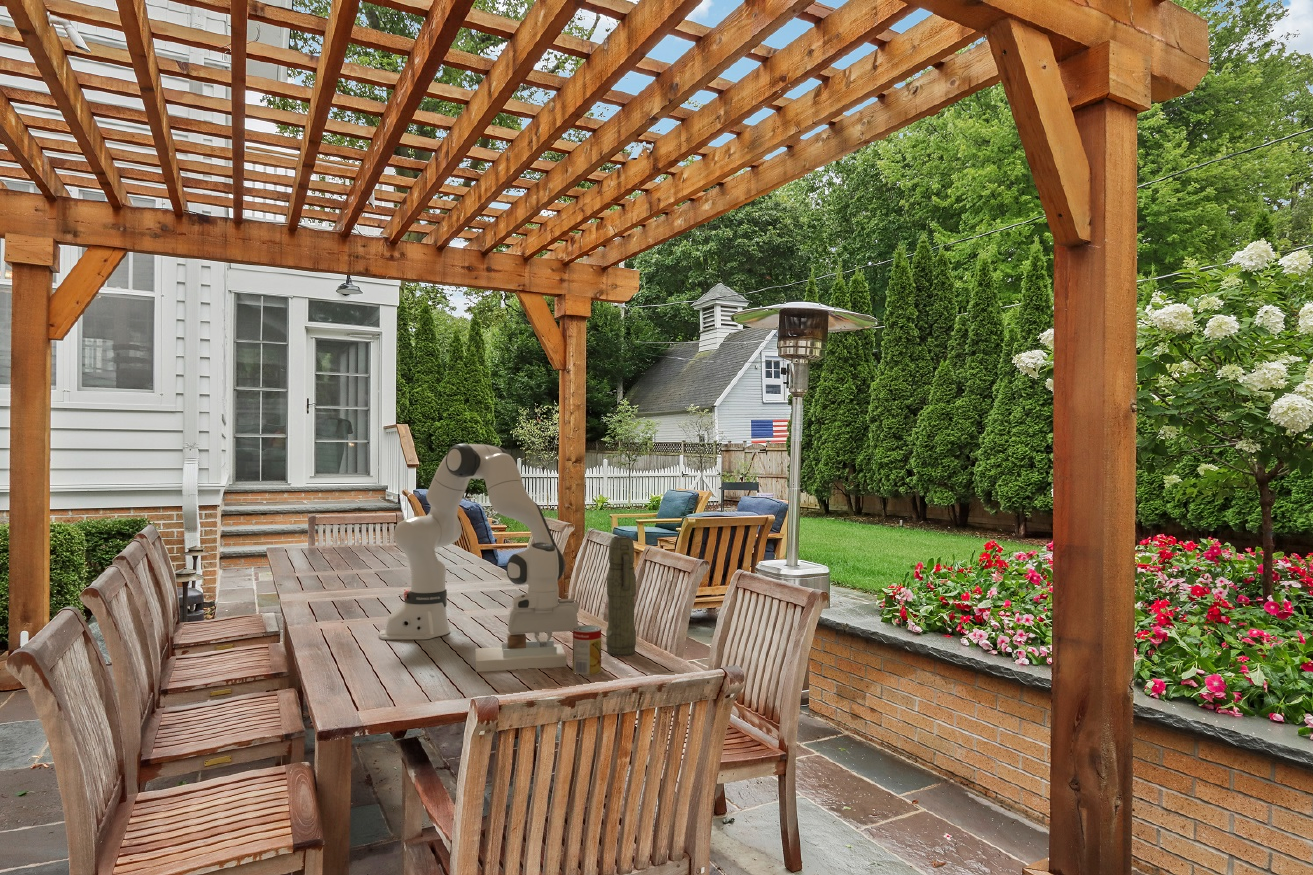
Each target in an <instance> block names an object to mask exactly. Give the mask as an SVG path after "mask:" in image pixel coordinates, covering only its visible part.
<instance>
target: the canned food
mask: <svg viewBox="0 0 1313 875" xmlns="http://www.w3.org/2000/svg"><path fill="white" fill-rule="evenodd" d="M573 672H574V673H576V674H575V675H577V674H581V675H580V676H583V675H589V676H595V675H598V674H600V673H601V672H602V627H601V626H598V625H591V624H590V625H589V624H588V625H587V624H584V625H583V624H582V625H578V626H576V627H574V628H573V631H572V673H573ZM574 673H573V674H574Z"/></svg>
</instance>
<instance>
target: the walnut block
mask: <svg viewBox="0 0 1313 875" xmlns="http://www.w3.org/2000/svg"><path fill="white" fill-rule="evenodd" d="M506 638H507V649H517V648H526V641H527V635H526V633H520V634H510V633H509V632H508V633H507V637H506Z"/></svg>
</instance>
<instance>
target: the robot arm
mask: <svg viewBox="0 0 1313 875" xmlns="http://www.w3.org/2000/svg"><path fill="white" fill-rule="evenodd" d="M521 476H522V475H521V473H520V470H519V468H518V465H517V463H516V461H515V460H514V457H512V455H510V453H509V452H508V450H506V449H505V448H503V447H501V446H497V445H496V446H495V445H491V444H490V445H489V444H486V443H485V444H484V443H471V444H470V443H469V444H468V443H458V444H454V445H452V446H451V447H450V448H449V450H448V452H447V453H446V455H445V456H444V457H443V459H442V461H441V462H440V464H439V465H438V468H437V469H436V471H435V474H434V475H433V478H432V480H431V482H430V485H429V487H428V489H427V492H426V496H425V499H426V501H427V503H428V504H429V505H430V510H429V512H428V513H427V515H421V516H411V517H408V518H407V519H406V518H405V519H404V520H402V521H400V522H398V523H397V524H396V525H395V527H394V531H393V538H394V539H393V540H394V542H395V544H396V545H397V547H399V549H401V550H402V551H403V552H404V554H405V556H406V558H407V560H408V564H409V568H410V590H408V589H407V590H405V591H404V592H403V596H404V597H403V599H404V603H402V604H401V605H400V606H399V607H398V608H396V609H395V610H394V611H392V612H391V613H390V614H389V616H388V617H387V620H386V624H385V628H383V629H381V630H380V631H379V633H378V638H379V639H381V640H430V639H433V638H436V637H437V638H438V637H441V636H445V635H447V634H449V633H451V629H450V625H449V621H448V614H447V605H448V593H447V592H448V591H447V588H446V580H447V579H446V577H447V576H446V566H445V564H444V563H443V562H442V561H440V560H439V559H438V557H437V554H436V550H435V548H442V547H447V546H449V545H452V544H453V543H456V542H457V541H459V539H460V538H461V536H462V531H463V529H462V524H461V521H460V520H459V518H458V512H459V508H460V504H461V502H462V499H463V498H464V495H465V493H466V490H467V488H468V485H469V483H470V482H471V479H472V480H473V479H474V480H484V483H485V487H486V491H487V497H488V500H489V503H490V506H491V508H492V509H493V510H494V511H495V512H496V513H498V514H499V515H501V516H503V517H505V518H508V519H512V520H515V521H517V522H519V523H521V524H523V525H525V527H527V528H528V530H529V531H530V533H531V536H532V539H533V540H534V543H531V544H530V546H529V548H527V549H525V550H523V551H520V552H516V553H513V554H512V555H511V556H510V557H509V558H508V561H507V562H506V575H507V578H508V580H510V582H511V583H512V584H514V585H517V586H525V585H528V588H527V593H523V594H521V595H518V596H514V598H512V601H511V603H512V607H511V608H510V610H509V613H508V619H507V620H508V621H507V631H508V633H510V634H520V633H525V634H533V636H534V638H535V641H537V642H538V647H548V642H549V640H551V638H553V633H557V632H559V633H560V632H573V628H574V627H576V626H579V618H578V612H579V610H580V604H579V602H578V600H576V599H574V598H559V596H560V595H559V592H560V591H559V590H560V589H559V588H560V587H559V585H558V581H559V580H560V579H561V578H562V577H563V575H564V573H565V571H566V560H565V558H564V556H563V553H562V552H561V551H560V549H559V547H558V546H557V543H556V542H555V539H554V537H553V534H552V533H551V530H550V527H549V525H548V523H547V521H546V518H545V516H544V513H543V512H542V510H541V508H540V506H539V504H538V503H537V502H535V501H534V500H533V499H532V498H531V497H530V496H529V494H528V492H527V491H526V489H525V486H524V483H523V482H524V481H523V480H522V477H521ZM540 633H541V634H542V633H546V635H547V636H546V638H545V640H544V639H543V640H544V641H541V640H540V638H539V637H540Z"/></svg>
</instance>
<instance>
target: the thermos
mask: <svg viewBox="0 0 1313 875" xmlns="http://www.w3.org/2000/svg"><path fill="white" fill-rule="evenodd" d="M632 538H633V537H630V536H627V535H615V536H614V537H611V539H610V542H609V546H608V564H609V566H608V572H607V574H606V596H607V600H608V601H607V604H608V605H607V606H608V607H607V609H608V610H607V613H608V614H607V624H608V625H607V628H606V632H605V633H606V634H605V636H606V638H605V639H606V640H605V644H606V654H607V653H608V654H610V655H609V656H611V655H614V656H613V657H630V656H632V655H635V654H636V644H637V630H636V628H635V596H636V595H637V576H636V573H635V567H634V563H635V545H634V542H633V539H632ZM608 654H607V655H608Z"/></svg>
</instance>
